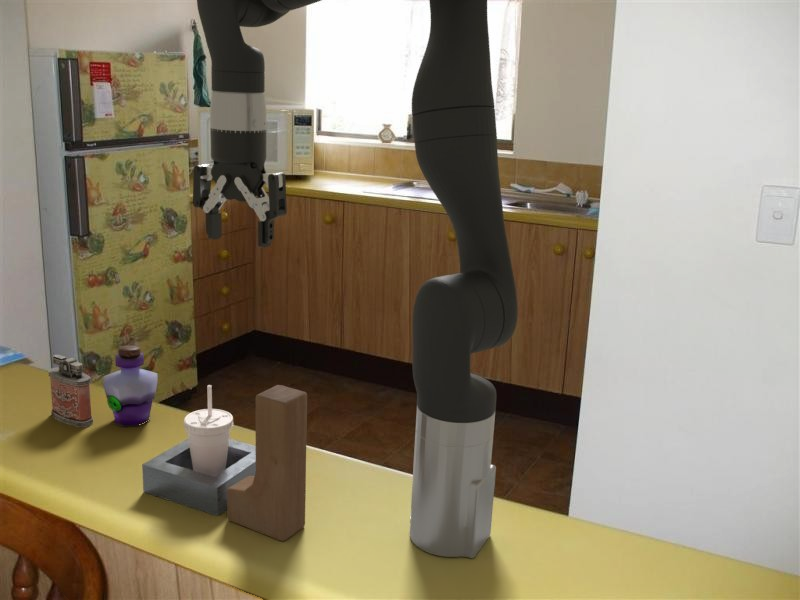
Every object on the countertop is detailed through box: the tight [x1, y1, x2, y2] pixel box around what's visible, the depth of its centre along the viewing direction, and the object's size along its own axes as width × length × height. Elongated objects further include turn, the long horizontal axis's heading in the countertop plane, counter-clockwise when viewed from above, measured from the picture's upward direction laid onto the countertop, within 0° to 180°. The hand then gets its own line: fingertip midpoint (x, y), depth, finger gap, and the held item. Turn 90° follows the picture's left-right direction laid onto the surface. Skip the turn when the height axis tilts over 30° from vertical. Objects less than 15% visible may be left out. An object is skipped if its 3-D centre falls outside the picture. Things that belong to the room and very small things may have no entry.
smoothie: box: [183, 384, 234, 477], centre depth 112 cm, size 6×6×14 cm
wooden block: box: [226, 384, 308, 542], centre depth 103 cm, size 9×4×18 cm, turn 60°
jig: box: [142, 438, 256, 517], centre depth 113 cm, size 12×12×4 cm
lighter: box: [47, 354, 94, 428], centre depth 130 cm, size 8×3×10 cm, turn 58°
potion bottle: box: [102, 344, 159, 428], centre depth 131 cm, size 9×9×12 cm
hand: (239, 242), depth 120 cm, fingers open, 8 cm apart
